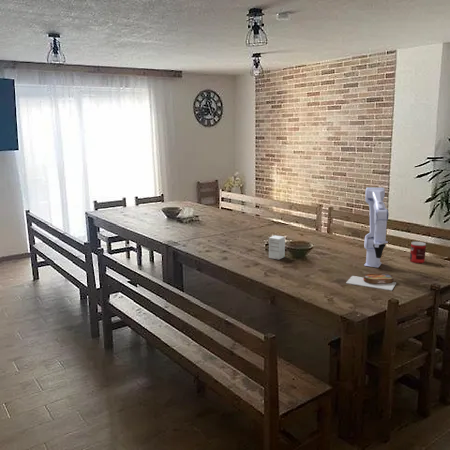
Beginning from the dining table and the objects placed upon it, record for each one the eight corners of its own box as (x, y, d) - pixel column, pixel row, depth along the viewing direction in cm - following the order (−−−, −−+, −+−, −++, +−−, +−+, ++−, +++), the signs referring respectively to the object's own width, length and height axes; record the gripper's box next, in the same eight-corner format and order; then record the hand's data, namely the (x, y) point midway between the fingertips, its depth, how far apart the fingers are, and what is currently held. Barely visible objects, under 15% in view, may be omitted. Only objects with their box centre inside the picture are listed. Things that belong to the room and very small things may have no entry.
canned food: (413, 258, 266) (414, 240, 263) (426, 261, 260) (428, 243, 258) (407, 261, 261) (408, 243, 258) (421, 264, 255) (422, 245, 253)
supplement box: (274, 255, 277) (274, 235, 274) (285, 256, 273) (285, 236, 270) (268, 257, 271) (268, 237, 268) (279, 259, 267) (279, 239, 264)
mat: (352, 276, 236) (352, 275, 236) (396, 283, 225) (396, 282, 225) (345, 283, 226) (345, 282, 226) (391, 290, 215) (391, 289, 215)
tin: (390, 273, 231) (396, 277, 223) (389, 279, 231) (396, 283, 223) (361, 273, 230) (366, 278, 222) (360, 279, 231) (366, 284, 223)
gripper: (385, 236, 225) (383, 262, 228) (390, 230, 237) (389, 255, 240) (371, 234, 229) (369, 260, 232) (377, 229, 241) (375, 253, 244)
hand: (378, 257), depth 236 cm, fingers closed
